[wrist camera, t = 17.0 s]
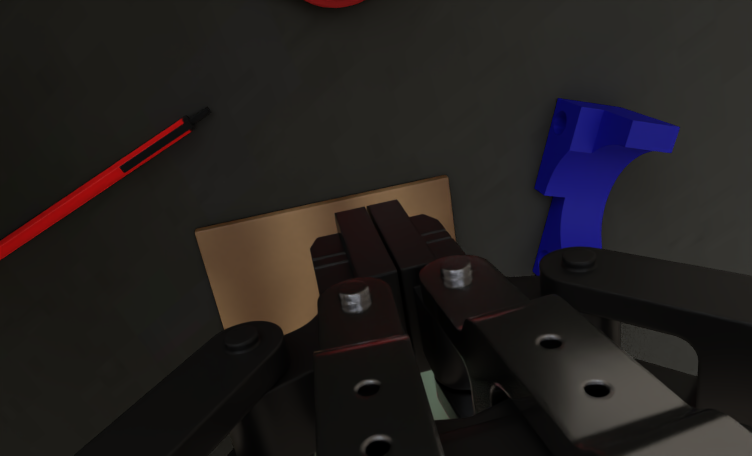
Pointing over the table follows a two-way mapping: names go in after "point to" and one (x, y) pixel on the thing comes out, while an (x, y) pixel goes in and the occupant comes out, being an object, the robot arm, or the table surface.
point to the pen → (100, 183)
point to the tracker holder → (334, 3)
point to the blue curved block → (590, 167)
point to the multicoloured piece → (299, 257)
